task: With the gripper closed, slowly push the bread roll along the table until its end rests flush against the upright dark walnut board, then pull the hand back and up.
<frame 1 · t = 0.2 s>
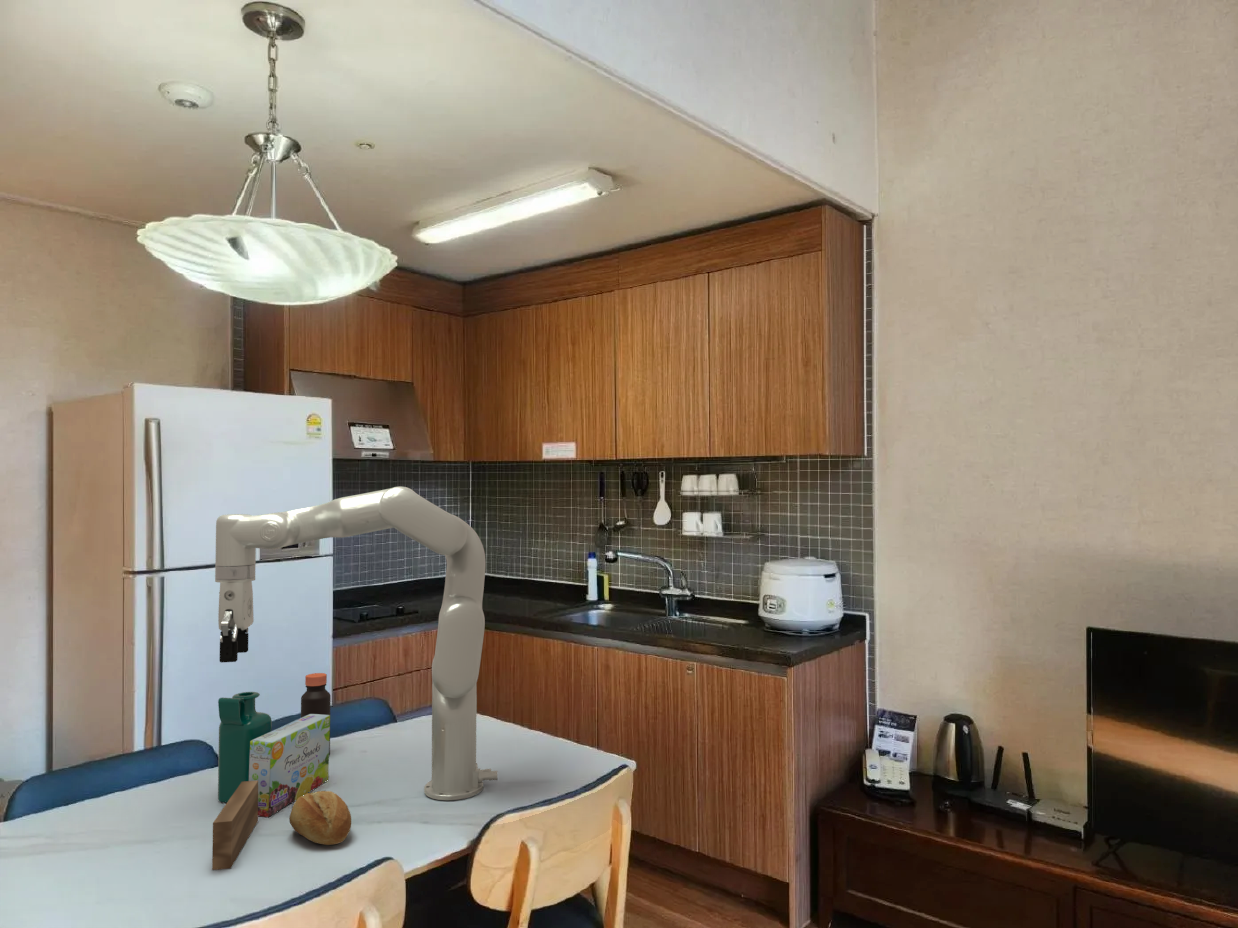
hand: (234, 656, 163), 31 cm above the table, tool pointing down, fingers open, 9 cm apart
bread roll: (319, 838, 148), on the table
bottle: (315, 758, 194), on the table
pitcher: (242, 798, 168), on the table
walnut board: (236, 843, 145), on the table
snack box: (290, 798, 168), on the table
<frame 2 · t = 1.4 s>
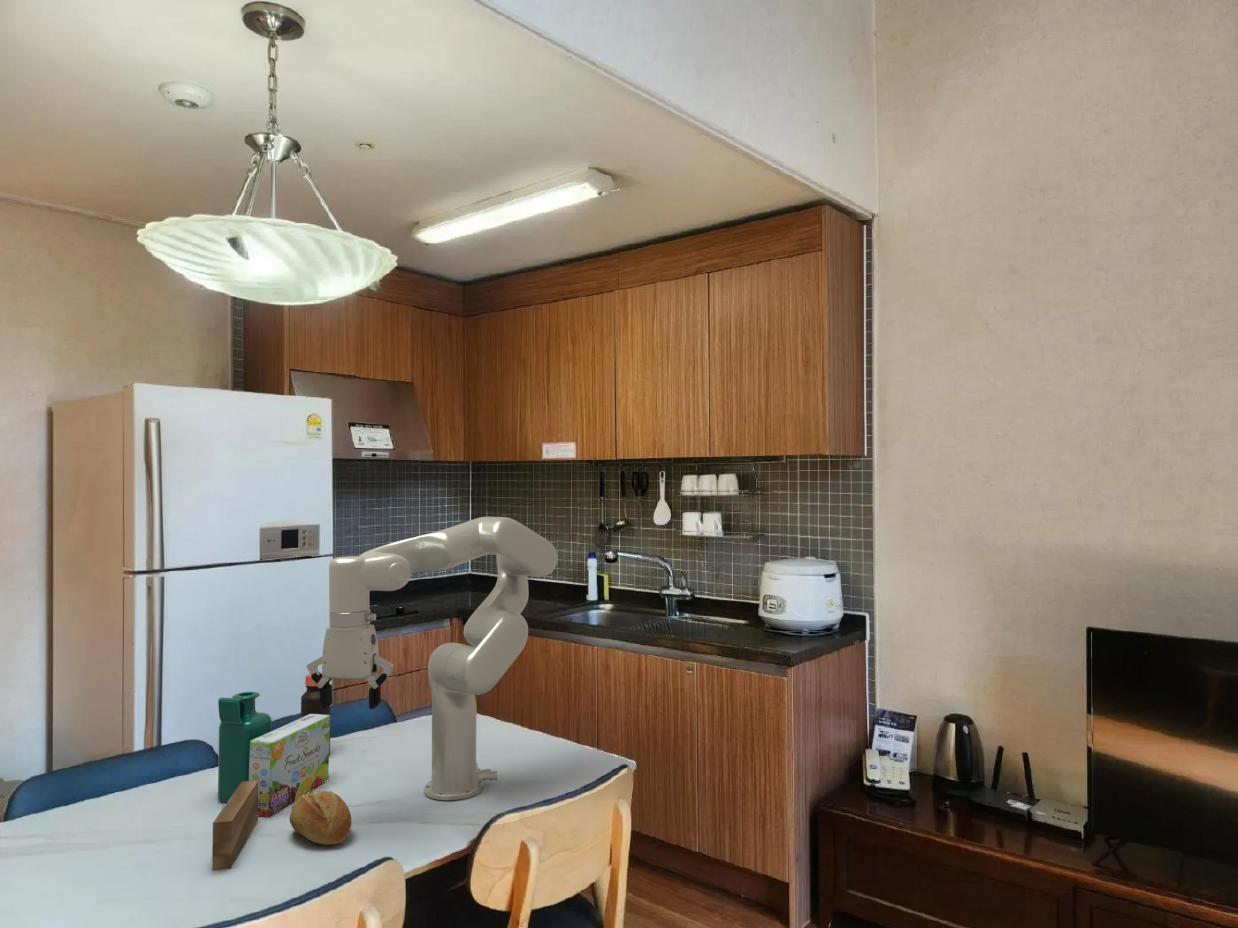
hand: (350, 706, 155), 23 cm above the table, tool pointing down, fingers open, 9 cm apart
nothing on the table moved.
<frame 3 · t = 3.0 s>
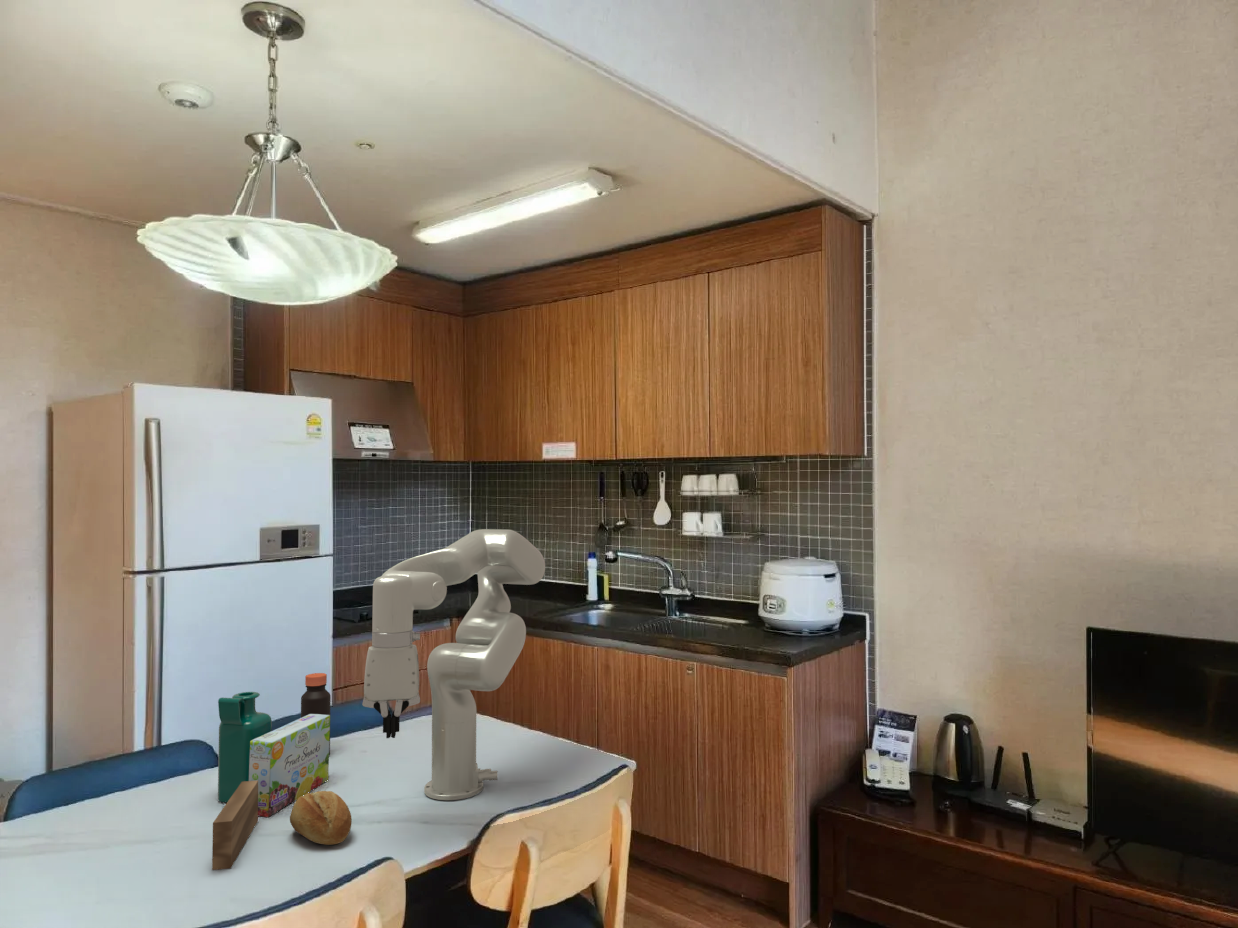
hand: (391, 735, 152), 18 cm above the table, tool pointing down, fingers closed
nothing on the table moved.
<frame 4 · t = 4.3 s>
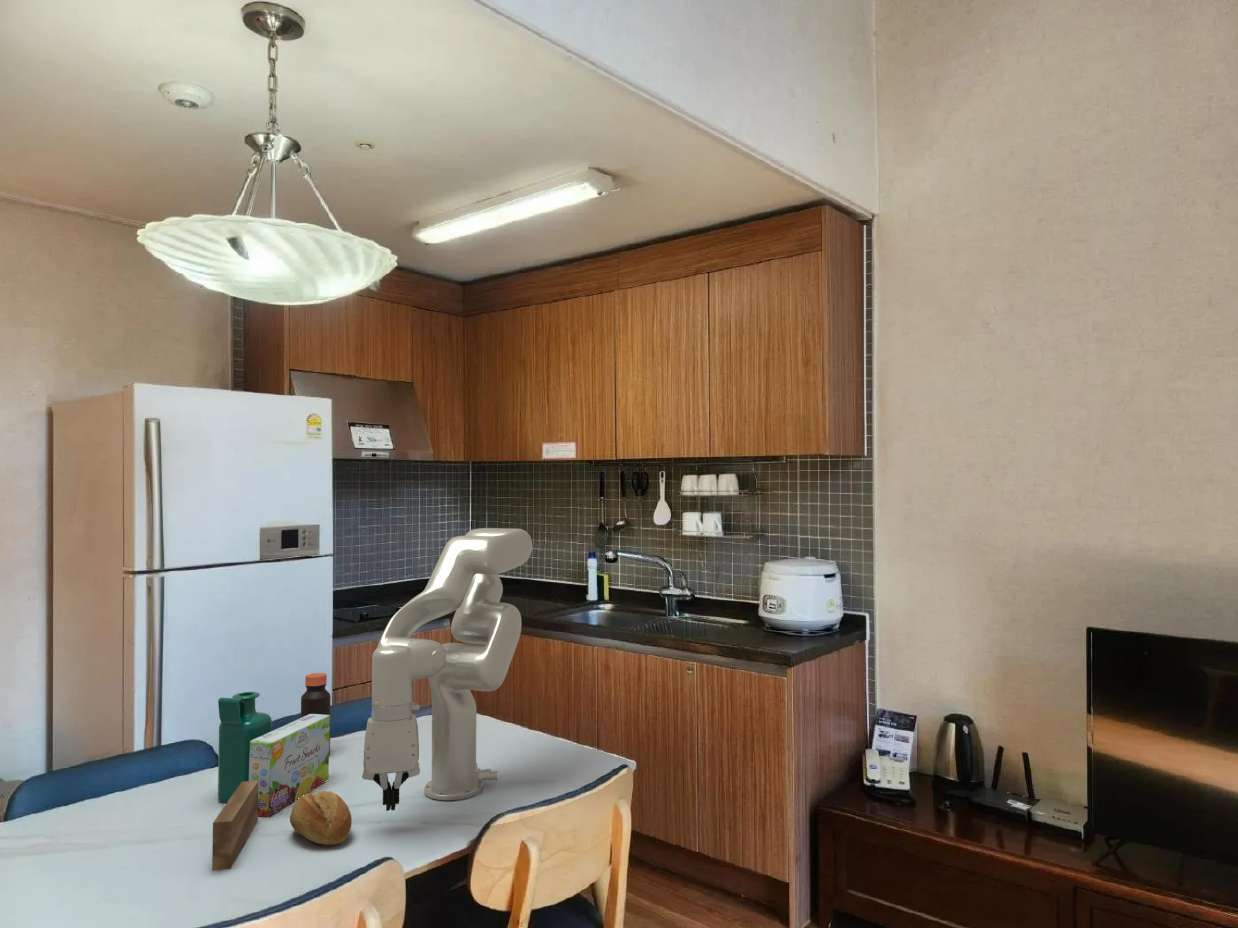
hand: (390, 807, 151), 4 cm above the table, tool pointing down, fingers closed
nothing on the table moved.
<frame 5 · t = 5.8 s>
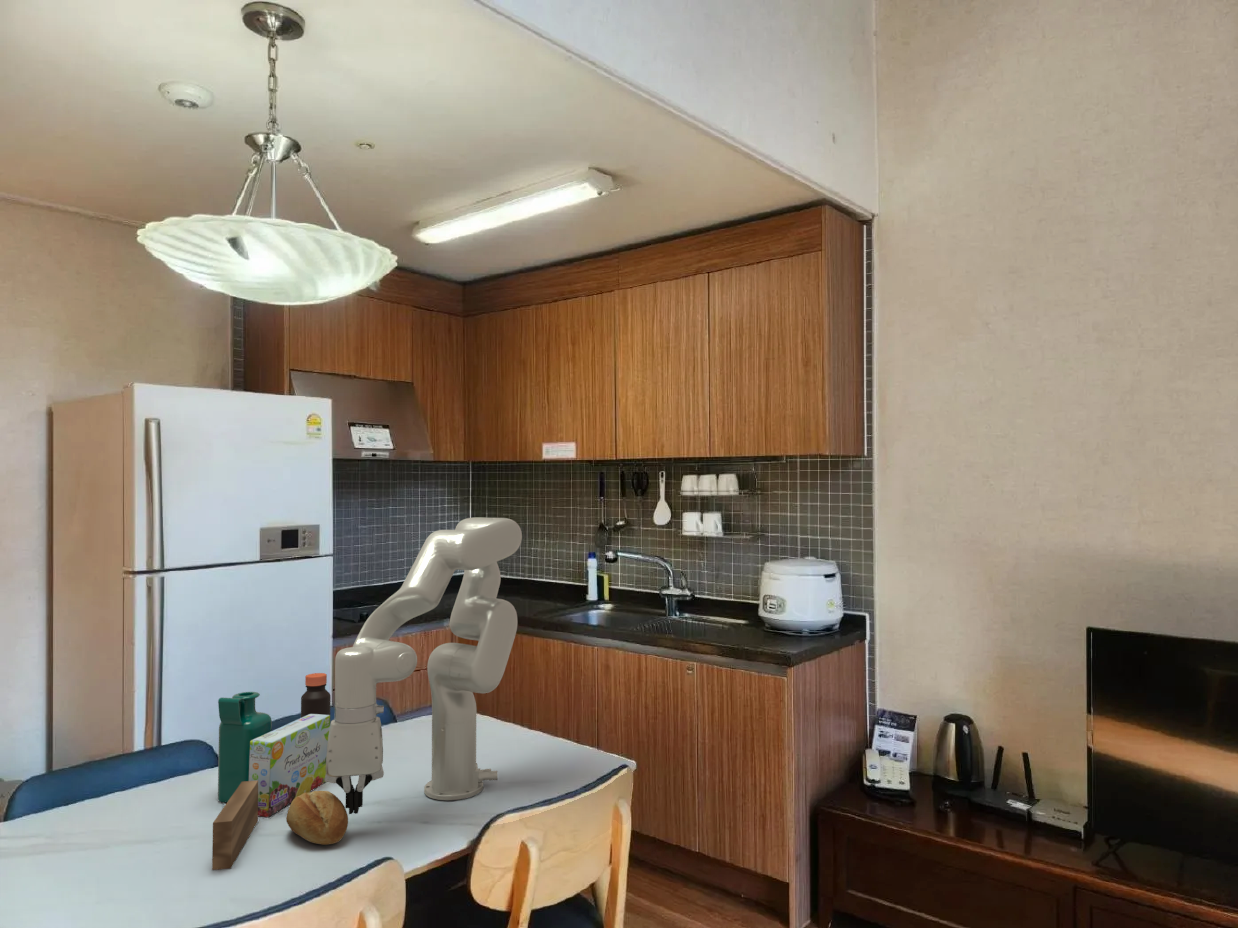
hand: (354, 810, 150), 4 cm above the table, tool pointing down, fingers closed
bread roll: (316, 837, 148), on the table, touching gripper
everything else where it was.
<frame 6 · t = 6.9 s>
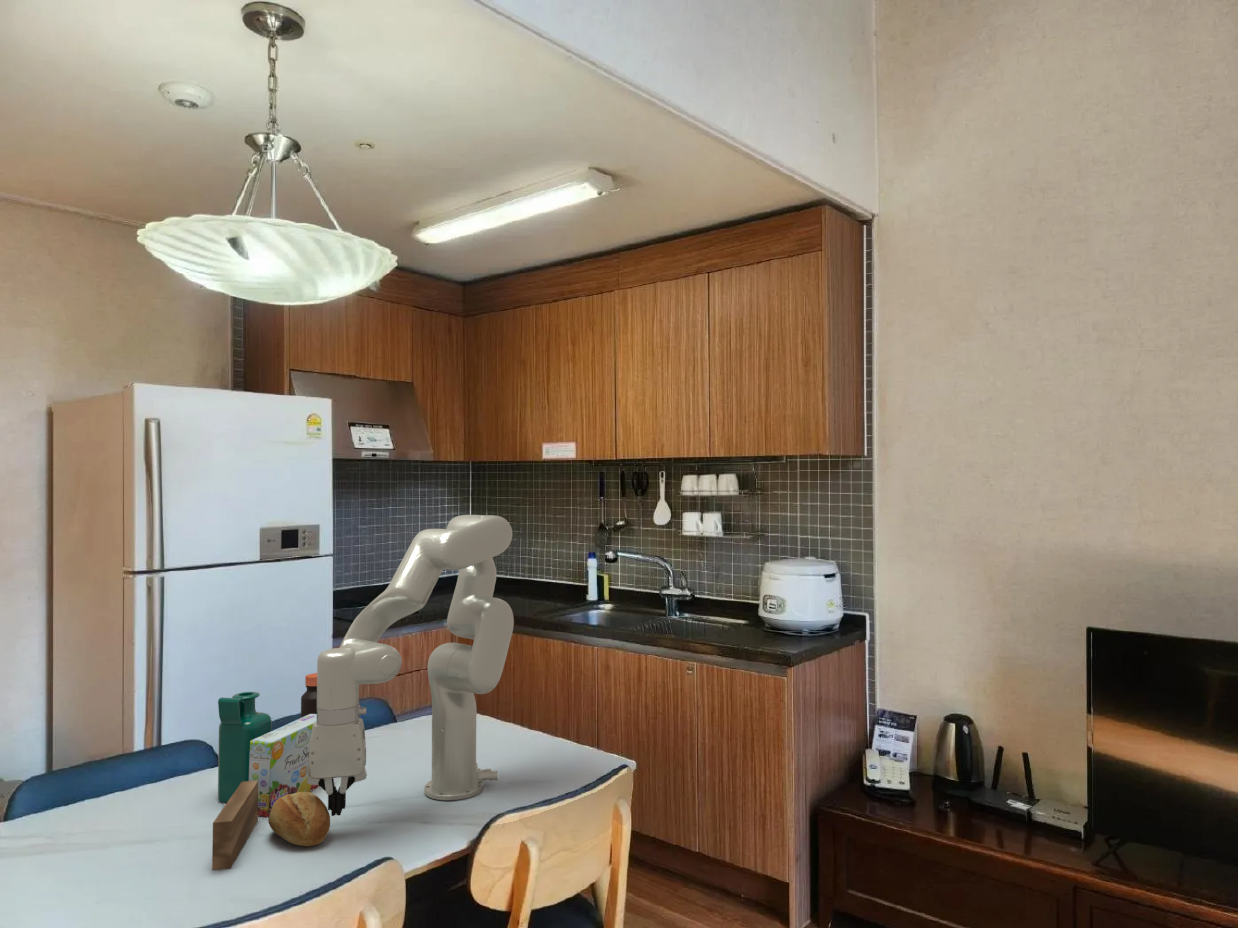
hand: (336, 812, 149), 4 cm above the table, tool pointing down, fingers closed
bread roll: (298, 839, 148), on the table
everything else where it was.
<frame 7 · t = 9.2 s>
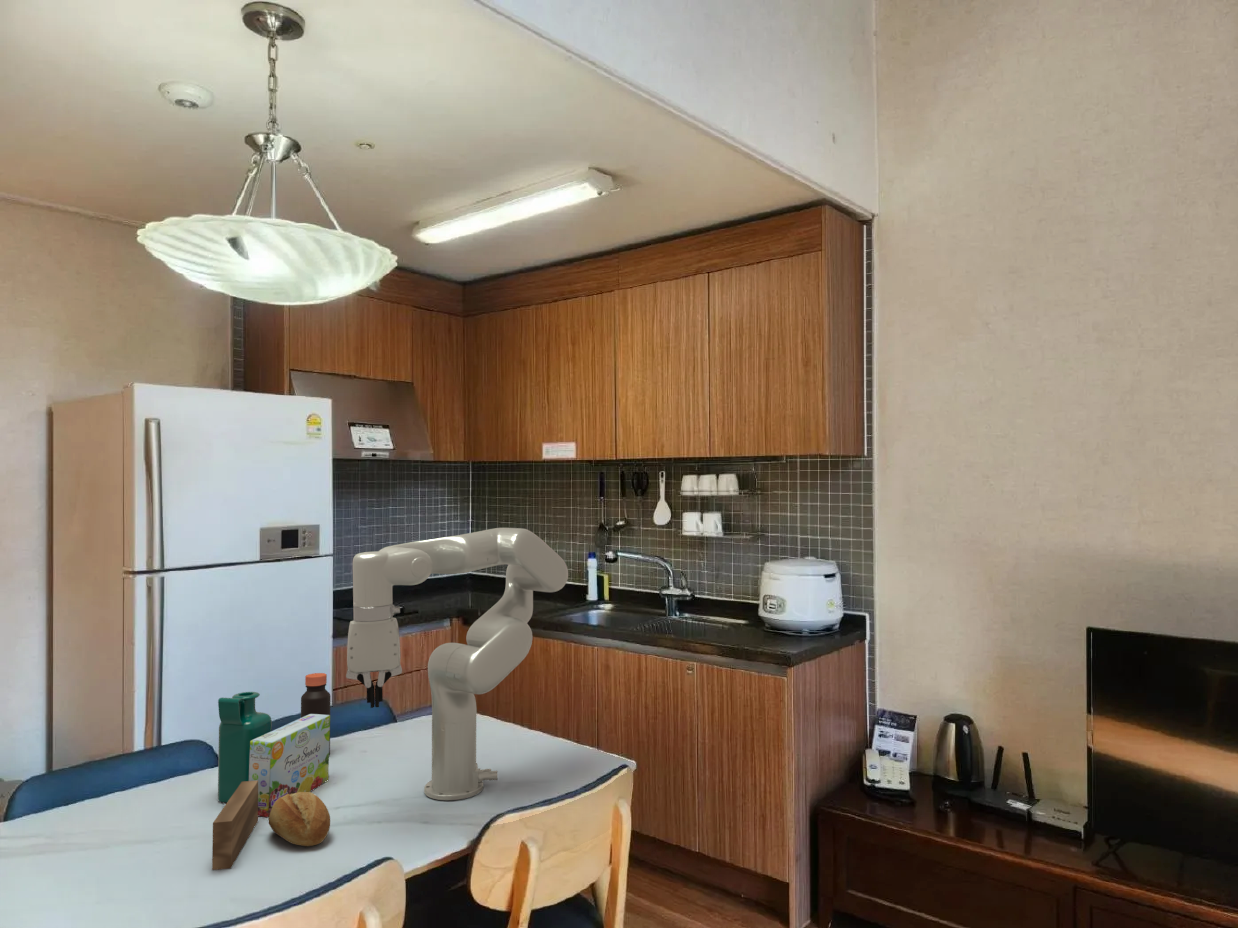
hand: (374, 705, 158), 22 cm above the table, tool pointing down, fingers closed
nothing on the table moved.
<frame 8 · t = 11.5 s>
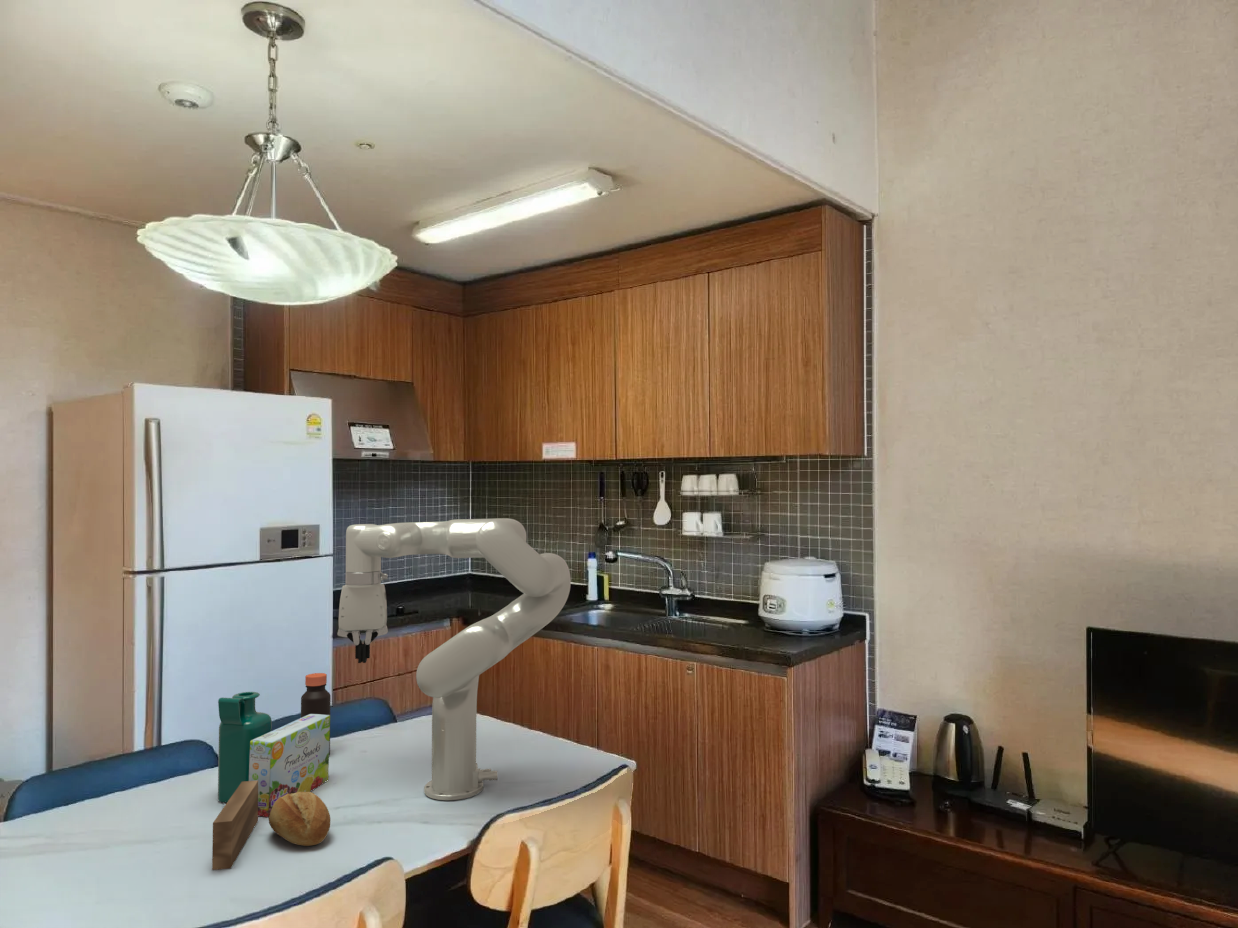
hand: (362, 661, 176), 27 cm above the table, tool pointing down, fingers closed
nothing on the table moved.
at the end: bread roll 1.9 cm from the target spot on the table beside the walnut board, on the table; bread roll tilted 0°; the gripper is holding nothing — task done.
